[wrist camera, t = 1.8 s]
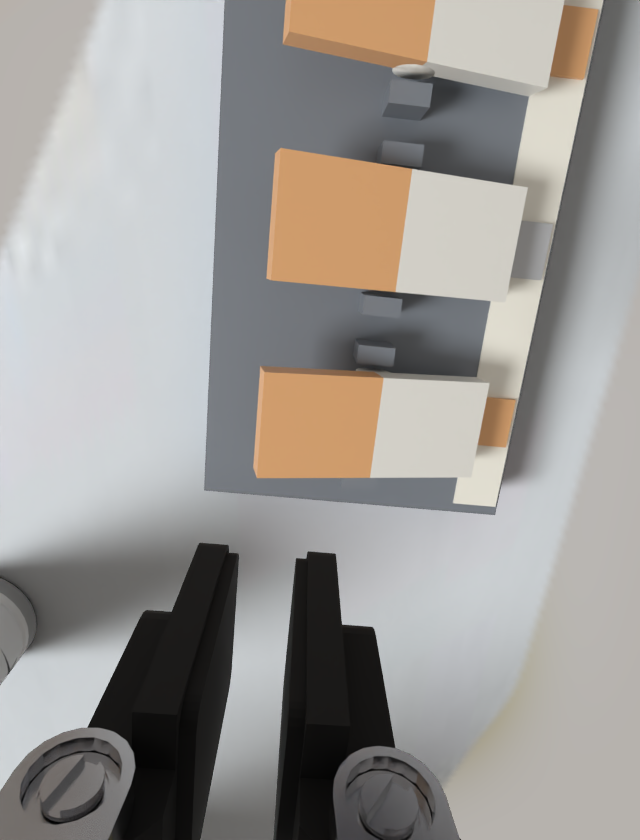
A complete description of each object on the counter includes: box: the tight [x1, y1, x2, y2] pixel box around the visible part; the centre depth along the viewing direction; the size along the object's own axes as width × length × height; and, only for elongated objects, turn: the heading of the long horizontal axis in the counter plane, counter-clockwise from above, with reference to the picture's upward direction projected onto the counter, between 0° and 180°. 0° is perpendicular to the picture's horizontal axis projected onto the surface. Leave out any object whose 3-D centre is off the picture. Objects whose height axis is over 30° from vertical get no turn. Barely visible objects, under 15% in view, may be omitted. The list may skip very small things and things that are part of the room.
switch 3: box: [253, 366, 490, 478], centre depth 24 cm, size 4×10×2 cm, turn 84°
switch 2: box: [266, 148, 528, 302], centre depth 21 cm, size 4×10×2 cm, turn 84°
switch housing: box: [204, 0, 605, 515], centre depth 24 cm, size 26×15×5 cm, turn 174°
